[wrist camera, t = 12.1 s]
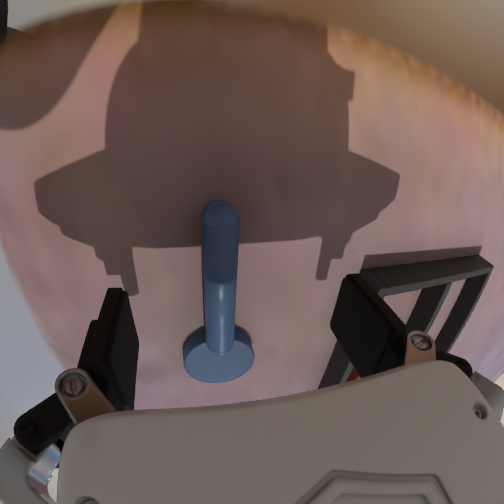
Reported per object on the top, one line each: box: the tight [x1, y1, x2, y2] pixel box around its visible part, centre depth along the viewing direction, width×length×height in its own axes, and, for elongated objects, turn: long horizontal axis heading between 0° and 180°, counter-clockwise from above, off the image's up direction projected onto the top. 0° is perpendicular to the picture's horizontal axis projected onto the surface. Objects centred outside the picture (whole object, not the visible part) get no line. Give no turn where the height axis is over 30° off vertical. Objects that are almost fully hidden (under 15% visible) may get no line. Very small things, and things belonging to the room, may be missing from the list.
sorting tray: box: [318, 255, 494, 389], centre depth 21 cm, size 14×20×3 cm
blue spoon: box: [183, 200, 254, 383], centre depth 14 cm, size 4×11×3 cm, turn 176°
